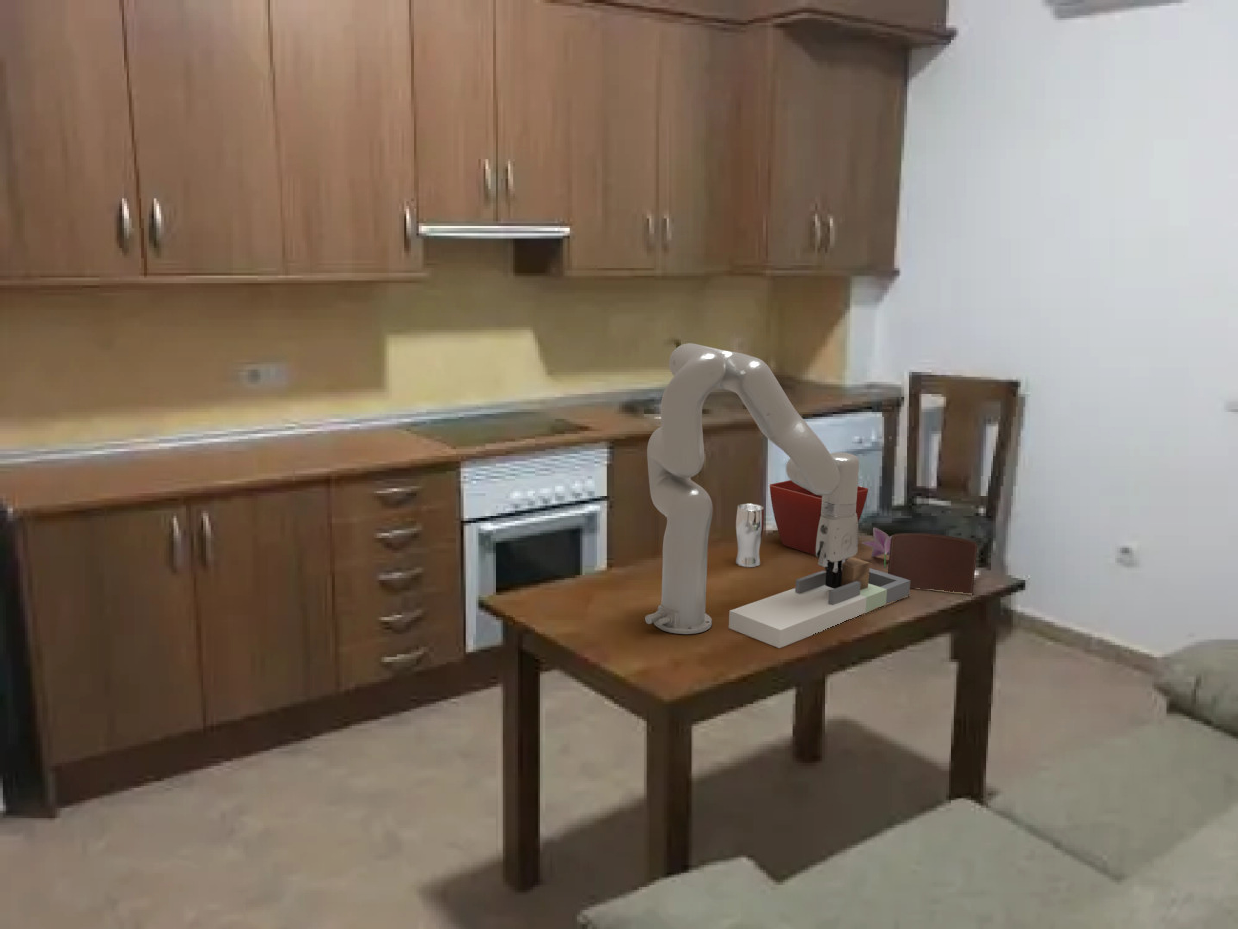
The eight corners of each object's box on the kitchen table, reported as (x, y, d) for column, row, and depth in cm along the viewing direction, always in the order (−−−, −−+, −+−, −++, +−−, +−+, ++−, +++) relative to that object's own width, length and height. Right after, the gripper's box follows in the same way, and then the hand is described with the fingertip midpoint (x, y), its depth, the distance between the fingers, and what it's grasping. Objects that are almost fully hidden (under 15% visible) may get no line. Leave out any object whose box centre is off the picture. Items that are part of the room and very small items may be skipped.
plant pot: (810, 532, 297) (813, 474, 293) (865, 549, 282) (870, 488, 279) (764, 544, 285) (767, 484, 281) (819, 562, 270) (824, 499, 266)
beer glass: (741, 557, 273) (743, 501, 270) (765, 562, 270) (768, 506, 266) (729, 564, 267) (732, 508, 264) (754, 569, 264) (757, 512, 260)
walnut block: (852, 593, 237) (853, 567, 236) (830, 585, 242) (832, 561, 240) (868, 587, 241) (870, 562, 240) (846, 580, 246) (848, 556, 244)
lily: (918, 571, 268) (918, 535, 271) (895, 562, 260) (895, 525, 263) (877, 574, 277) (877, 539, 279) (853, 566, 269) (853, 529, 271)
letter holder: (972, 596, 249) (978, 539, 246) (886, 587, 254) (891, 531, 251) (971, 582, 258) (976, 527, 255) (887, 574, 263) (892, 519, 260)
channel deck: (779, 648, 216) (781, 616, 215) (728, 628, 226) (730, 597, 225) (909, 596, 247) (911, 568, 246) (859, 580, 257) (861, 553, 256)
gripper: (831, 518, 226) (826, 598, 230) (872, 506, 235) (866, 584, 240) (803, 510, 231) (799, 589, 235) (845, 499, 241) (839, 575, 245)
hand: (833, 586), depth 238 cm, fingers closed
